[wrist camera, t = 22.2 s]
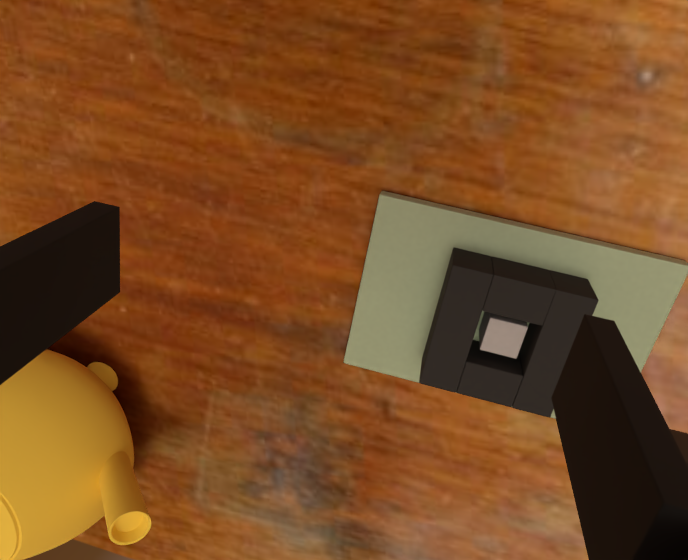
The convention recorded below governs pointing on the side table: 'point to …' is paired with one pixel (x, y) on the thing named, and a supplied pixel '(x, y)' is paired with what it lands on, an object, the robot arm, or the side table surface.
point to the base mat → (502, 242)
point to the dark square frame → (514, 302)
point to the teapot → (65, 458)
